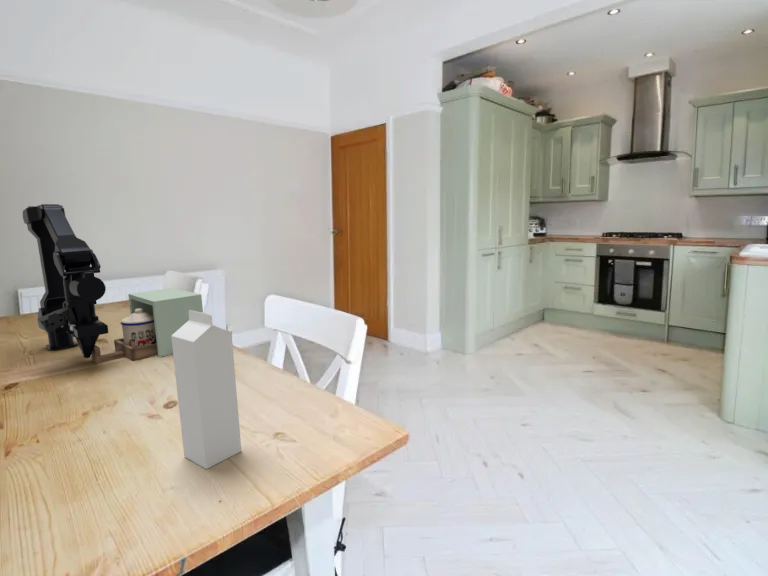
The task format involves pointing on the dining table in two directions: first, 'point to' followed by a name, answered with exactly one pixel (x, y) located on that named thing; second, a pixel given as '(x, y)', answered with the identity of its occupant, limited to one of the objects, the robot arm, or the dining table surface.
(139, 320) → the teacup with lid
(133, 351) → the tray
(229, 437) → the milk
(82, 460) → the dining table surface
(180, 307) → the shelf
